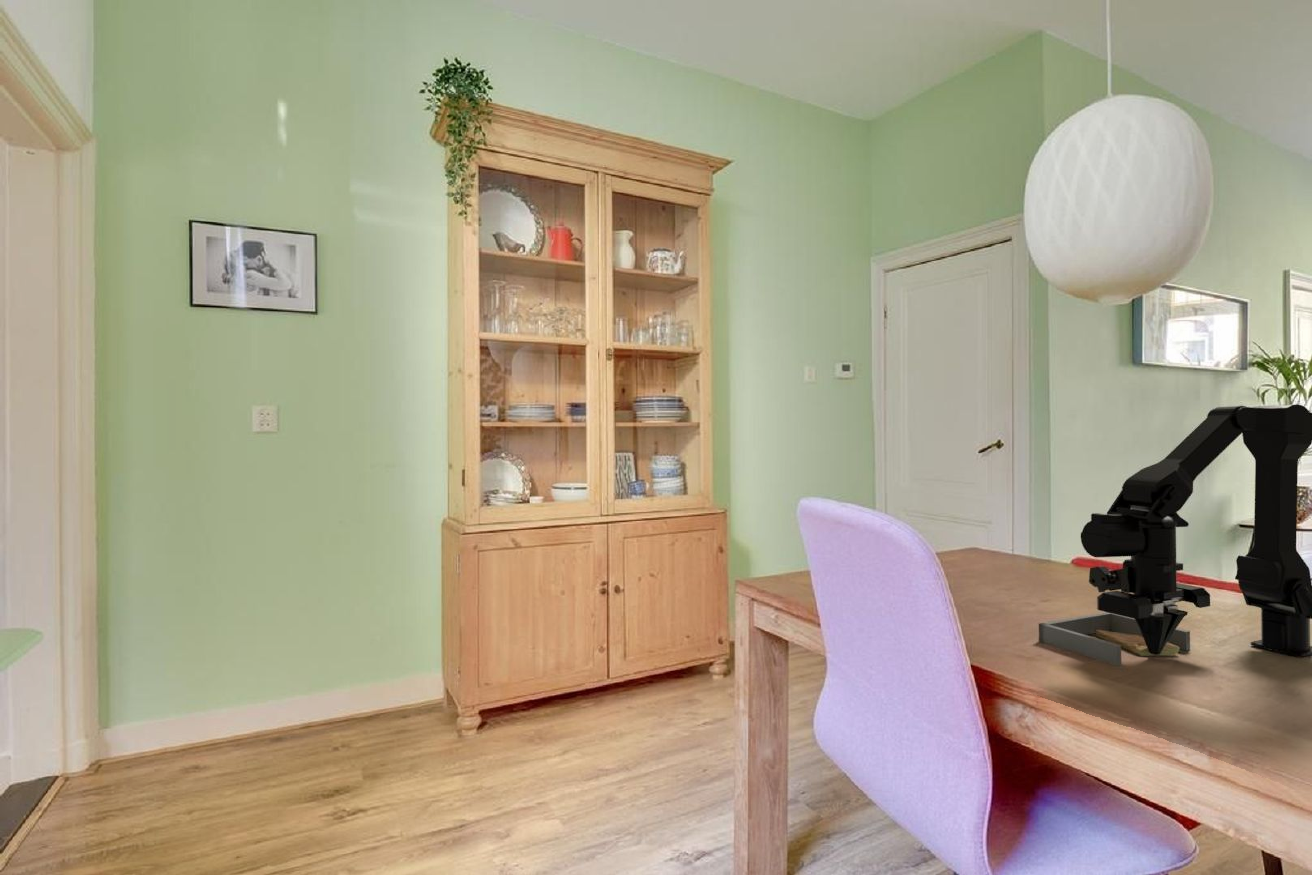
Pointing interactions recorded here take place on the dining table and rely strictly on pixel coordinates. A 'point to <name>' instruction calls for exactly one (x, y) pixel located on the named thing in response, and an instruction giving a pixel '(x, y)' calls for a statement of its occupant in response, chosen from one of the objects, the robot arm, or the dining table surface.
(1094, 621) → the box
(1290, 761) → the dining table surface
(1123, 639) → the shard
